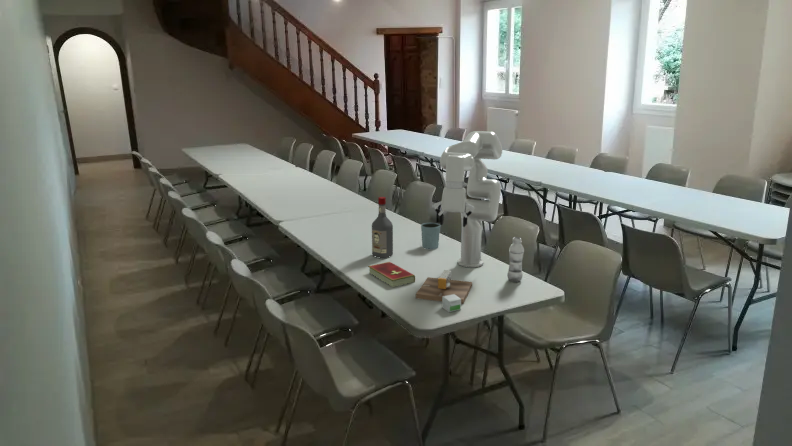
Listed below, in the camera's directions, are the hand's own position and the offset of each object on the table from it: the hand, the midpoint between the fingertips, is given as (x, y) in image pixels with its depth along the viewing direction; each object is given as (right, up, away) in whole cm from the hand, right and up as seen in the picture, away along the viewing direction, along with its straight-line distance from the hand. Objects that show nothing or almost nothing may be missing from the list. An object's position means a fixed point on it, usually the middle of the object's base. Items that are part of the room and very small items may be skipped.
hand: (452, 225), depth 246 cm
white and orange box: (-3, -26, +2) cm, 27 cm away
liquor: (-31, -16, +50) cm, 60 cm away
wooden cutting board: (-3, -28, +3) cm, 29 cm away
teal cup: (-6, -12, +63) cm, 65 cm away
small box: (-2, -33, -13) cm, 36 cm away
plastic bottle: (+29, -25, +16) cm, 41 cm away
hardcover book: (-26, -24, +20) cm, 41 cm away
